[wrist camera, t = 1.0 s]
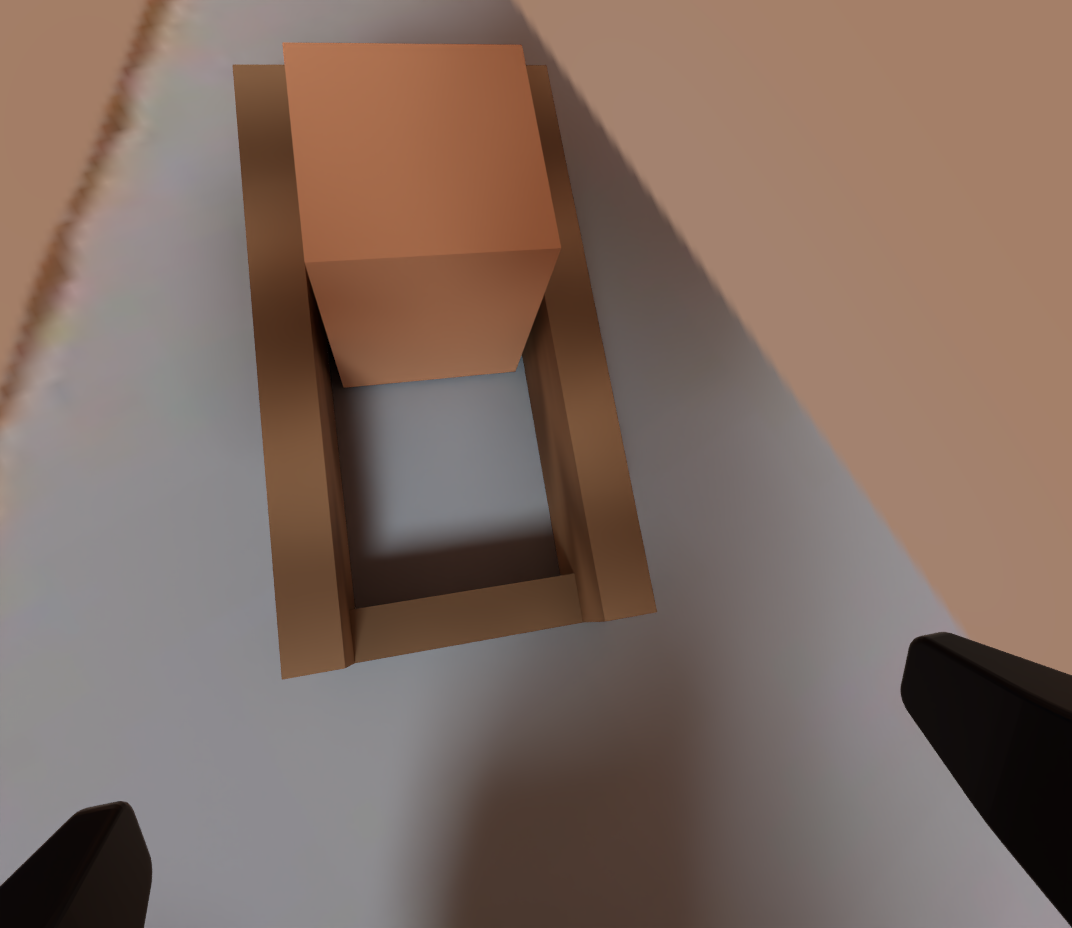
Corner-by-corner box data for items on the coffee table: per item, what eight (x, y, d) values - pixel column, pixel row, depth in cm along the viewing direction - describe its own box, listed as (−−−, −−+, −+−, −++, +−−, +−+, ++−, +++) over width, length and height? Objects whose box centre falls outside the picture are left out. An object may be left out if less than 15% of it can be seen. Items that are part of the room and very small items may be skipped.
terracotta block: (515, 371, 24) (561, 248, 16) (343, 387, 22) (304, 262, 15) (490, 223, 25) (521, 44, 17) (326, 232, 24) (282, 42, 16)
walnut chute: (611, 615, 22) (657, 611, 18) (311, 668, 20) (281, 679, 16) (525, 158, 26) (546, 65, 22) (265, 165, 24) (232, 64, 20)
